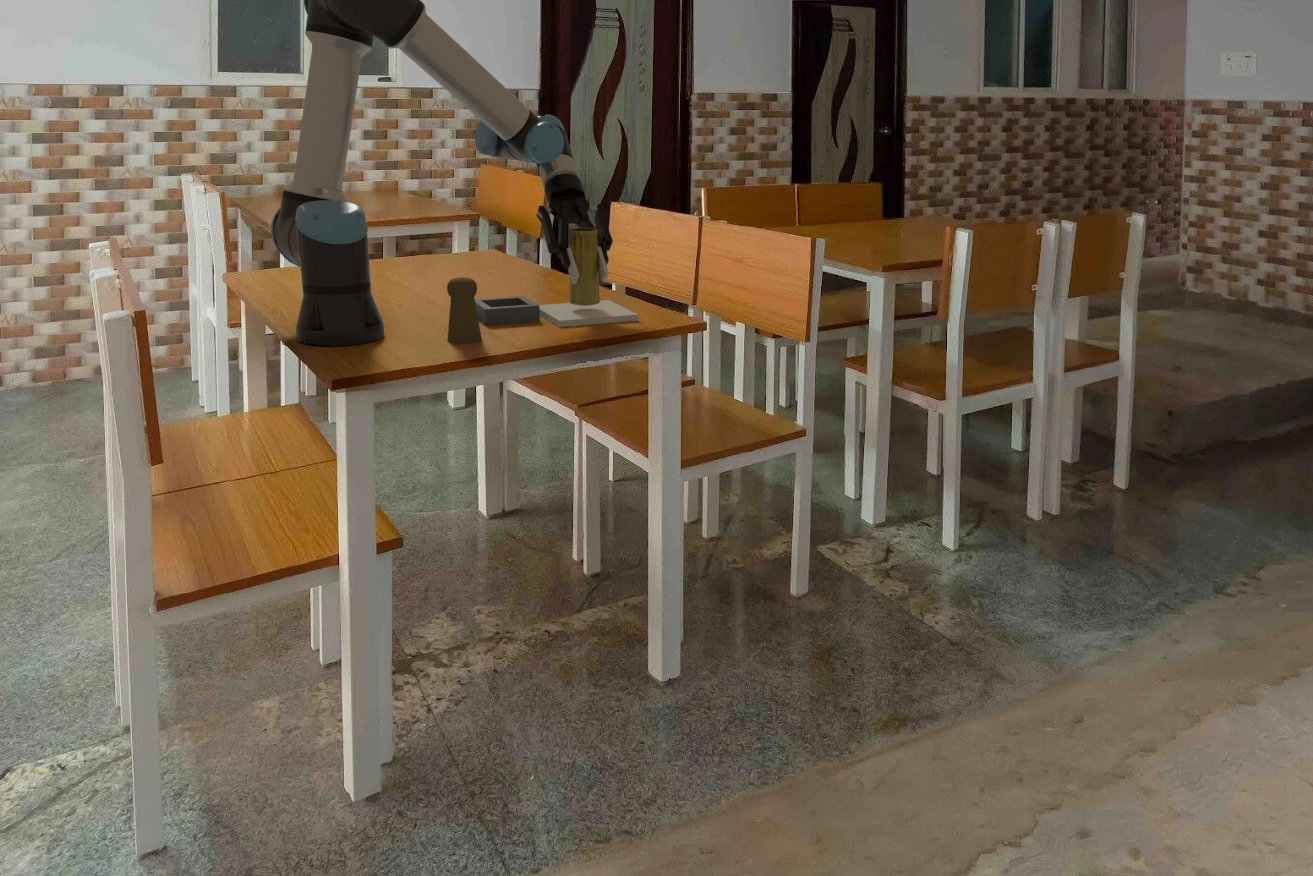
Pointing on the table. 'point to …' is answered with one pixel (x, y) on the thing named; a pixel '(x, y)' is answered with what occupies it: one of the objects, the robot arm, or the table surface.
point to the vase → (585, 267)
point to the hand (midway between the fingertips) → (590, 278)
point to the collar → (507, 310)
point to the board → (586, 314)
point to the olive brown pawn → (463, 312)
